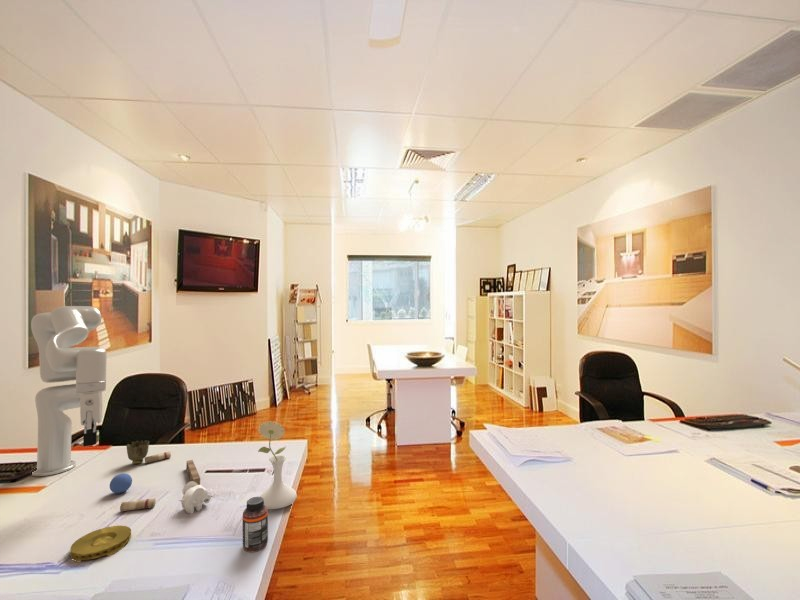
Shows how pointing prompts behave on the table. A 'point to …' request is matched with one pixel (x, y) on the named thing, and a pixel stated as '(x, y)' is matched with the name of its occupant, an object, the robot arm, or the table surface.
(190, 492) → the elephant figurine
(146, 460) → the rear pin
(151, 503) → the front pin
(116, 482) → the ball
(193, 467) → the wooden plank
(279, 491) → the flower in vase
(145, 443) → the cup
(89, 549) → the gold brake disc
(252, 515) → the supplement bottle
